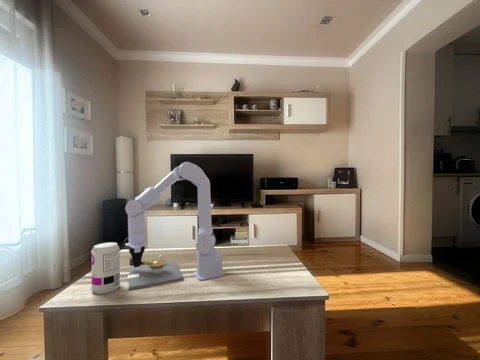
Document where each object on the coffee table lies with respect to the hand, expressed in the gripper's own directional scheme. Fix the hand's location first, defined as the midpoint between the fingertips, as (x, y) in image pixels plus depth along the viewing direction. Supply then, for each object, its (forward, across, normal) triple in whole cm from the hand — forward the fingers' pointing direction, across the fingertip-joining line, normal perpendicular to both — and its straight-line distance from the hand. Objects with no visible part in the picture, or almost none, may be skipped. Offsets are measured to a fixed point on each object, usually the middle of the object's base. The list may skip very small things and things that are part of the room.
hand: (137, 266), depth 90 cm
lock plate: (+4, +2, +6) cm, 7 cm away
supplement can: (+4, +8, -10) cm, 13 cm away
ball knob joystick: (0, 0, +4) cm, 4 cm away
